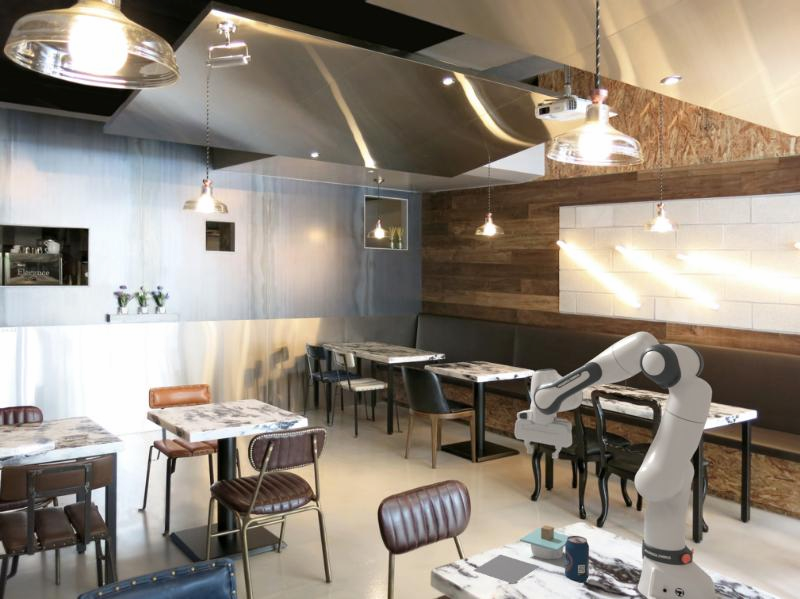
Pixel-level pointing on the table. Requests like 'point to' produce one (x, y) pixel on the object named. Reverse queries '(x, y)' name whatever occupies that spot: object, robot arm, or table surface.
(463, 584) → the table surface
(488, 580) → the table surface
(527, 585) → the table surface
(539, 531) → the cover sheet
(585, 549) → the soda can
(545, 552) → the ramekin
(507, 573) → the mat
